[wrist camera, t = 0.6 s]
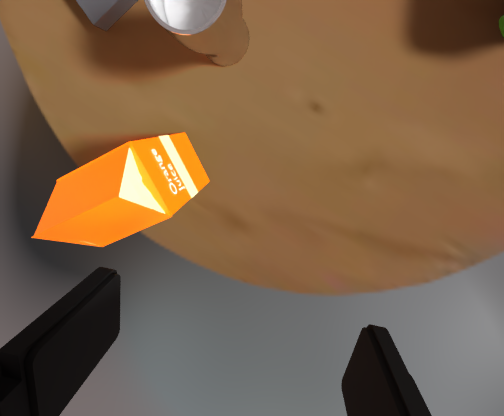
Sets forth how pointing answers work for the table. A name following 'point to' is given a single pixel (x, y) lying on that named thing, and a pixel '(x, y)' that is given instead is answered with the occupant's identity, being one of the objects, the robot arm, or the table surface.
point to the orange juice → (123, 191)
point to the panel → (105, 11)
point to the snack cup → (501, 25)
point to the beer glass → (205, 26)
